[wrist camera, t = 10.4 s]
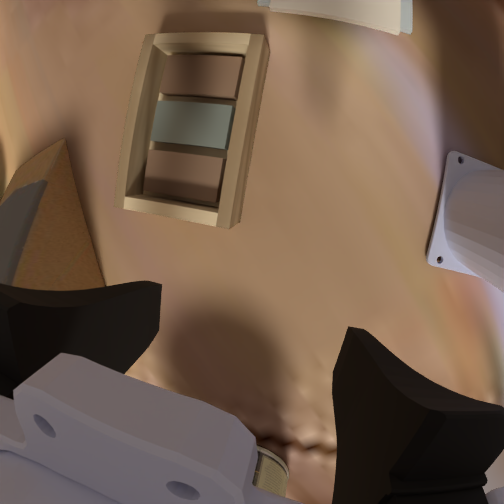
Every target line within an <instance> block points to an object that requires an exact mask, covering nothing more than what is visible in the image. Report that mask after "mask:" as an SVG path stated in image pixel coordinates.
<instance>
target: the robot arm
mask: <svg viewBox="0 0 504 504" xmlns="http://www.w3.org/2000/svg"><path fill="white" fill-rule="evenodd" d="M459 157H460V158H461V159H462V162H461V164H460V163H459V162H458V158H459ZM439 256H441V260H440V262H437V258H438V257H439ZM426 261H427V262H428V263H429V264H430V265H432V266H436V267H441V268H445V269H449V270H453V271H457V272H461V273H465V274H469V275H473V276H477V277H481V278H483V279H485V280H486V281H487V282H489V283H490V284H492V285H493V286H495V287H496V288H498V289H499V290H501V291H502V292H504V170H501V169H499V168H497V167H494V166H492V165H490V164H487V163H485V162H483V161H480V160H478V159H475V158H473V157H470V156H468V155H465V154H462V153H460V152H457V151H450V152H449V153H448V155H447V160H446V167H445V173H444V179H443V184H442V190H441V195H440V200H439V205H438V210H437V214H436V219H435V223H434V228H433V232H432V236H431V240H430V244H429V248H428V251H427V255H426ZM161 291H162V284H159V283H155V282H151V281H136V282H129V283H123V284H118V285H112V286H106V287H99V288H92V289H84V290H68V291H54V290H35V289H27V288H20V287H14V286H10V285H5V284H1V283H0V504H304V503H301V502H298V501H295V500H292V499H289V498H286V497H283V496H280V495H277V494H274V493H272V492H269V491H266V490H264V489H261V488H259V487H256V486H254V485H253V484H252V482H253V477H254V473H255V468H256V464H257V460H258V453H257V445H256V437H255V436H254V435H253V434H252V433H251V432H250V431H249V430H248V429H247V428H246V427H245V426H244V425H243V424H242V422H241V421H240V420H239V419H238V418H237V417H236V416H234V415H232V414H230V413H227V412H225V411H223V410H221V409H219V408H217V407H215V406H212V405H210V404H208V403H206V402H204V401H201V400H198V399H194V398H191V397H188V396H184V395H181V394H178V393H175V392H172V391H169V390H166V389H163V388H160V387H157V386H154V385H151V384H149V383H146V382H143V381H140V380H138V379H135V378H132V377H130V376H127V375H124V374H125V373H126V372H127V370H128V369H129V368H130V367H131V366H132V365H133V364H134V363H135V362H136V361H137V359H138V358H139V357H140V356H141V355H142V354H143V353H144V352H145V350H146V349H147V348H148V347H149V345H150V344H151V342H152V341H153V339H154V338H155V336H156V334H157V333H158V331H159V322H160V305H161ZM332 396H333V406H334V415H335V425H336V435H337V459H336V473H335V483H334V492H333V500H332V504H504V487H501V488H496V489H494V490H491V491H490V492H488V493H487V494H485V493H484V490H483V488H482V486H485V484H486V483H487V478H486V475H485V472H486V470H487V469H488V468H489V467H490V466H491V465H492V463H493V462H494V461H495V460H496V458H497V457H498V456H499V455H500V453H501V452H502V451H503V449H504V408H503V407H502V406H500V405H495V404H491V403H487V402H483V401H479V400H475V399H472V398H469V397H466V396H464V395H461V394H458V393H456V392H453V391H451V390H449V389H447V388H445V387H442V386H440V385H438V384H436V383H434V382H433V381H431V380H429V379H427V378H426V377H424V376H423V375H421V374H419V373H418V372H416V371H415V370H413V369H412V368H410V367H409V366H408V365H406V364H405V363H404V362H403V361H401V360H400V359H399V358H398V357H396V356H395V355H394V354H393V353H392V352H390V351H389V350H388V349H387V348H386V347H385V346H384V345H383V344H381V343H380V342H379V341H378V340H377V339H376V338H375V337H374V336H372V335H371V334H370V333H369V332H367V331H366V330H364V329H360V328H354V327H349V326H348V329H347V332H346V335H345V338H344V341H343V344H342V347H341V350H340V353H339V356H338V359H337V362H336V364H335V367H334V370H333V381H332Z"/></svg>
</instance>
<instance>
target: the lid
mask: <svg viewBox="0 0 504 504" xmlns="http://www.w3.org/2000/svg"><path fill="white" fill-rule="evenodd" d="M269 9H270V11H272V12H282V13H292V14H300V15H307V16H314V17H320V18H326V19H332V20H337V21H342V22H347V23H352V24H356V25H361V26H365V27H369V28H373V29H377V30H380V31H384V32H388V33H391V34H395V35H398V34H399V33H400V20H401V0H271V1H270V5H269Z"/></svg>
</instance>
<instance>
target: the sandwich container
mask: <svg viewBox="0 0 504 504" xmlns="http://www.w3.org/2000/svg"><path fill="white" fill-rule="evenodd" d="M0 283H1V284H5V285H10V286H14V287H20V288H27V289H35V290H54V291H68V290H84V289H92V288H99V287H105V284H104V281H103V278H102V275H101V272H100V269H99V266H98V262H97V259H96V256H95V252H94V249H93V245H92V241H91V238H90V235H89V231H88V228H87V225H86V221H85V218H84V215H83V211H82V207H81V204H80V200H79V196H78V192H77V189H76V185H75V181H74V176H73V172H72V168H71V163H70V159H69V154H68V149H67V145H66V140H65V138H63V139H61V140H59V141H58V142H56V143H54V144H52V145H51V146H49V147H48V148H46V149H44V150H43V151H41V152H40V153H38V154H36V155H35V156H34V157H33V158H31V159H30V160H29V161H27V162H26V163H25V164H24V165H22V166H21V167H20V168H19V169H18V170H16V172H15V173H14V175H13V177H12V179H11V181H10V183H9V185H8V187H7V189H6V191H5V193H4V195H3V197H2V199H1V201H0Z"/></svg>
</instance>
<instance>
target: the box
mask: <svg viewBox="0 0 504 504" xmlns="http://www.w3.org/2000/svg"><path fill="white" fill-rule="evenodd" d="M269 56H270V51H269V48H268V45H267V42H266V39H265V36H264V35H262V34H249V33H229V32H180V33H160V34H147V35H145V38H144V42H143V45H142V49H141V53H140V56H139V60H138V64H137V68H136V72H135V77H134V81H133V86H132V90H131V95H130V100H129V104H128V110H127V115H126V120H125V126H124V132H123V138H122V144H121V150H120V157H119V165H118V172H117V181H116V190H115V199H114V207H117V208H122V209H127V210H133V211H138V212H143V213H149V214H154V215H159V216H165V217H170V218H175V219H180V220H185V221H190V222H196V223H201V224H206V225H211V226H216V227H221V228H226V229H230V228H232V227H233V226H235V225H236V224H238V223H239V222H240V218H241V212H242V207H243V201H244V195H245V189H246V183H247V177H248V171H249V166H250V160H251V154H252V149H253V143H254V137H255V132H256V126H257V121H258V115H259V110H260V104H261V99H262V93H263V88H264V83H265V77H266V72H267V67H268V61H269Z"/></svg>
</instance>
